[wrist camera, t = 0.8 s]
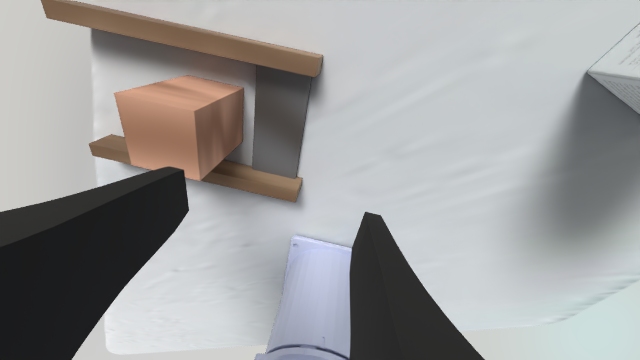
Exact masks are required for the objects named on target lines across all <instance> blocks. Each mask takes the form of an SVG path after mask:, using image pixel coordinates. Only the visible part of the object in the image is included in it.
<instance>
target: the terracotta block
mask: <svg viewBox="0 0 640 360" xmlns="http://www.w3.org/2000/svg"><path fill="white" fill-rule="evenodd" d="M114 95H115V99H116V103H117V107H118V111H119V115H120V119H121V124H122V128H123V132H124V136H125V140H126V144H127V148H128V152H129V156H130V160H131V164H132V165H134V166H138V167H142V168H147V169H151V170H156V169H159V168H163V167H168V166H171V167H175V168H179V169H183V170H184V173H185V178H189V179H194V180H198V181H200V180H202V179H203V178H204V177H205V176H206V175H207V174H208V173H209V172H210V171H211V170H212V169H213V168H214V167H216V166H217V165H218V164H219V163H220V162H221V161H222V160H223V159H224V158H225V157H226V156H227V155H229V154H230V153H231V152H232V151H233V150H234V149H235V148H236V147H237V146H238V145H239V144H240V143H242V142H243V101H244V88H242V87H238V86H233V85H229V84H224V83H220V82H216V81H211V80H207V79H202V78H198V77H193V76H189V75H186V76H182V77H178V78H174V79H170V80H166V81H161V82H157V83H153V84H149V85H145V86H141V87H137V88H133V89H129V90H124V91H120V92H116V93H114Z"/></svg>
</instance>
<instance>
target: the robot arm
mask: <svg viewBox="0 0 640 360" xmlns="http://www.w3.org/2000/svg"><path fill="white" fill-rule="evenodd" d="M188 211H189V207H188V198H187V190H186V181H185V173H184V170H183V169H179V168H175V167H171V166H168V167H163V168H159V169H156V170H152V171H149V172H146V173H142V174H139V175H136V176H133V177H130V178H127V179H123V180H120V181H117V182H114V183H111V184H108V185H104V186H101V187H98V188H94V189H91V190H87V191H84V192H81V193H77V194H73V195H70V196H66V197H63V198H59V199H55V200H51V201H47V202H43V203H39V204H34V205H30V206H26V207H21V208H17V209H12V210H8V211H4V212H0V360H72V358H73V357H74V355H75V353H76V352H77V351H78V349H79V348H80V346H81V345H82V343H83V342H84V341H85V339H86V338H87V336H88V335H89V333H90V332H91V331H92V329H93V328H94V327H95V325H96V324H97V322H98V321H99V320H100V318H101V317H102V315H103V314H104V313H105V312H106V310H107V309H108V308H109V306H110V305H111V304H112V302H113V301H114V300H115V298H116V297H117V296H118V294H119V293H120V292H121V291H122V289H123V288H124V287H125V286H126V285H127V284H128V282H129V281H130V280H131V279H132V278H133V277H134V276H135V274H136V273H137V272H138V271H139V270H140V269H141V268H142V267H143V266H144V265H145V264H146V262H147V261H148V260H149V259H150V258H151V257H152V256H153V255H154V254H155V253H156V252H157V250H158V249H159V248H160V247H161V246H162V245H163V244H164V243H165V242H166V241H167V239H168V238H169V237H170V236H171V235H172V234H173V233H174V232H175V230H176V229H177V227H178V226H179V225H180V223H181V222H182V220H183V219H184V217H185V216H186V214H187V213H188ZM295 244H297V245H295ZM255 360H485V359H483V357H482V356H481V355H480V354H479V353H478V352H477V351H476V350H475V349H474V348H473V346H472V345H471V344H470V343H469V342H468V341H467V340H466V339H465V338H464V336H463V335H462V334H461V333H460V332H459V331H458V330H457V328H456V327H455V326H454V325H453V324H452V322H451V321H450V320H449V319H448V318H447V316H446V315H445V314H444V313H443V311H442V310H441V309H440V307H439V306H438V305H437V304H436V302H435V301H434V300H433V299H432V297H431V296H430V295H429V293H428V292H427V291H426V289H425V288H424V286H423V285H422V283H421V282H420V281H419V279H418V278H417V276H416V275H415V273H414V272H413V270H412V269H411V267H410V266H409V264H408V262H407V261H406V259H405V257H404V256H403V254H402V252H401V251H400V249H399V247H398V246H397V244H396V242H395V240H394V238H393V237H392V235H391V233H390V231H389V229H388V228H387V226H386V224H385V222H384V220H383V218H382V217H381V215H377V214H372V213H368V212H365V214H364V216H363V219H362V222H361V225H360V228H359V230H358V233H357V236H356V239H355V241H354V244H353V247H352V248H349V247H345V246H340V245H336V244H332V243H328V242H323V241H319V240H315V239H311V238H306V237H302V236H298V235H295V236H293V237H292V239H291V244H290V250H289V255H288V261H287V267H286V273H285V279H284V285H283V291H282V298H281V301H280V305H279V308H278V311H277V315H276V318H275V322H274V325H273V329H272V332H271V335H270V339H269V342H268V346H267V349H266V352H265V354H256V357H255Z"/></svg>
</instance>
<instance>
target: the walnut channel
mask: <svg viewBox="0 0 640 360" xmlns="http://www.w3.org/2000/svg"><path fill="white" fill-rule="evenodd" d="M41 2H42V5H43V8H44V11H45V14H46V17H47V18H49V19H53V20H58V21H62V22H67V23H71V24H76V25H80V26H85V27H89V28H94V29H99V30H103V31H108V32H112V33H117V34H121V35H126V36H130V37H135V38H139V39H144V40H148V41H153V42H158V43H162V44H167V45H171V46H176V47H180V48H185V49H189V50H194V51H198V52H203V53H207V54H212V55H217V56H221V57H226V58H230V59H235V60H239V61H244V62H248V63H253V64H257V73H256V95H255V117H254V140H253V162H252V167H251V166H247V165H243V164H238V163H234V162H230V161H225V160H222V161H221V162H220V163H219V164H218V165H217V166H216V167H214V168H213V169H212V170H211V171H210V172H209V173H208V174H207V175H206V176H205V177H204V178H203V179H202V180H200V181H205V182H209V183H213V184H218V185H222V186H226V187H231V188H235V189H239V190H244V191H248V192H252V193H257V194H261V195H265V196H269V197H274V198H278V199H282V200H287V201H291V202H296V199H297V197H298V194H299V191H300V189H301V183H302V178H299V177H296V175H297V169H298V162H299V156H300V149H301V143H302V136H303V130H304V124H305V117H306V111H307V104H308V98H309V91H310V85H311V78H312V77H316V76H317V75H318V74H319V73H320V72H321V66H322V60H323V55H320V54H315V53H310V52H306V51H301V50H297V49H292V48H288V47H283V46H278V45H274V44H269V43H265V42H260V41H255V40H251V39H246V38H242V37H237V36H233V35H228V34H223V33H219V32H214V31H210V30H205V29H201V28H196V27H191V26H187V25H182V24H178V23H173V22H168V21H164V20H159V19H155V18H150V17H146V16H141V15H136V14H132V13H127V12H123V11H118V10H113V9H109V8H104V7H100V6H95V5H91V4H86V3H81V2H77V1H70V0H41ZM89 146H90V149H91V152H92V155H93V156H97V157H101V158H105V159H110V160H114V161H118V162H123V163H127V164H131V160H130V156H129V152H128V148H127V144H126V140H125V137H120V136H116V135H112V134H111V135H109V136H106V137H104V138H101V139H99V140H97V141H94V142H92V143H89ZM131 165H132V164H131Z"/></svg>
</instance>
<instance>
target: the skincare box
mask: <svg viewBox="0 0 640 360" xmlns="http://www.w3.org/2000/svg"><path fill="white" fill-rule="evenodd" d="M588 74H589V75H590V76H592V77H593V78H595V79H596V80H597V81H598V82H599V83H601V84H602V85H603V86H604V87H606V88H607V89H608V90H609V91H611V92H612V93H613V94H614V95H616V96H617V97H618V98H619V99H621V100H622V101H623V102H625V103H626V104H627V105H628V106H630V107H631V108H632V109H633V110H635V111H636V112H637V113H639V114H640V23H639V24H638V25H637V26H636V27H635V28H634V29H633V30H632V31H631V32H630V33H629V34H627V35H626V36H625V37H624V38H623V39H622V40H621V41H620V42H619V43H618V44H616V45H615V46H614V47H613V48H612V49H611V50H610V51H609V52H608V53H606V54H605V55H604V56H603V57H602V58H601V59H600V60H599V61H598V62H596V63H595V64H594V65H593V66H592V67H591V68H590V69H589V70H588Z"/></svg>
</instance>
